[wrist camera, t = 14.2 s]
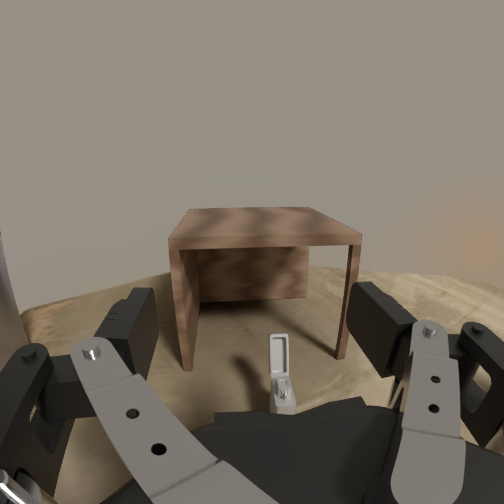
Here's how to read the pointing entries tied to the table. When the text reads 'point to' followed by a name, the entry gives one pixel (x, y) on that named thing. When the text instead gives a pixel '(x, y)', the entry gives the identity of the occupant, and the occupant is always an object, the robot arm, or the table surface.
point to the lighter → (280, 375)
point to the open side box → (250, 261)
